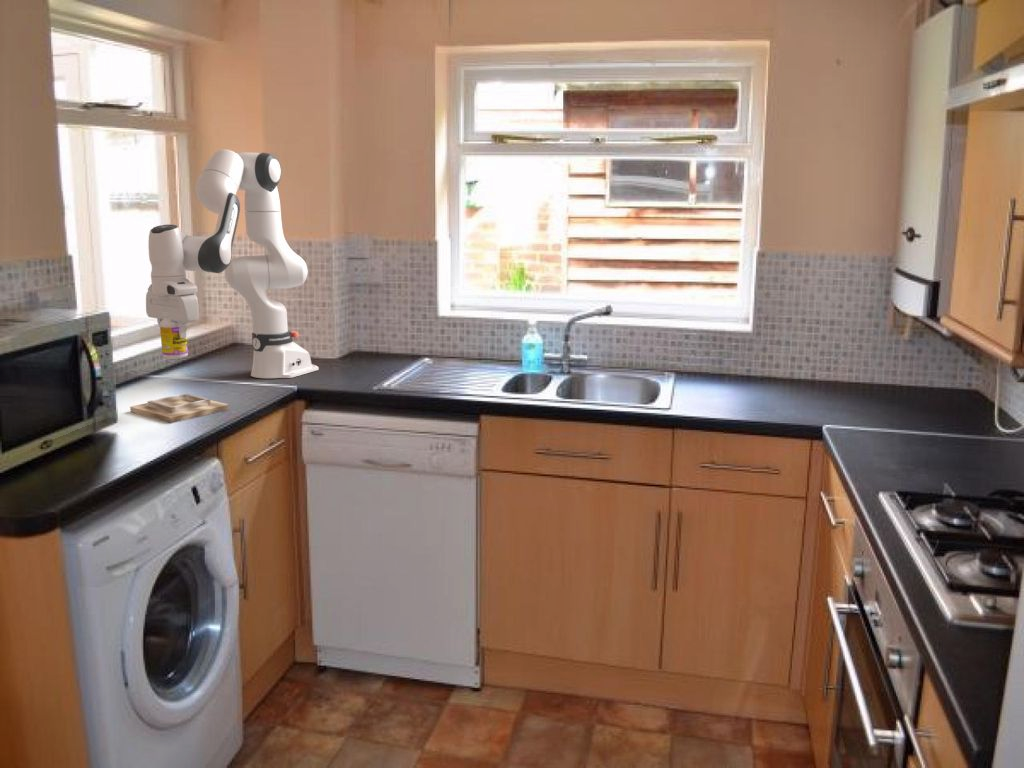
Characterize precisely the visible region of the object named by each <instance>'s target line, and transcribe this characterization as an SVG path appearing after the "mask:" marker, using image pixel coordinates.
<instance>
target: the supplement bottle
mask: <svg viewBox="0 0 1024 768" xmlns="http://www.w3.org/2000/svg"><path fill="white" fill-rule="evenodd" d="M162 313H163V317H164V320H162V321H161V322H160V327H159V332H160V342H161V343H160V344H161V353H162V357H163V358H164V359H168V360H170V359H171V360H176V359H183V358H186V357H188V355H189V353H188V352H189V350H188V337H187V336H186V338H178V334H177V331H179V328H180V326H179V325H178V322H176V321H170V320H169V312H165V311H162Z"/></svg>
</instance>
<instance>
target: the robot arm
mask: <svg viewBox="0 0 1024 768" xmlns="http://www.w3.org/2000/svg"><path fill="white" fill-rule="evenodd" d="M281 178H282V166H281V163H280V161H279V160H278V158H277V157H276V156H275V155H273V153H272V154H271V153H267V152H260V153H259V152H251V151H250V152H249V151H247V152H243V151H242V152H237V153H236V151H233V150H231V149H228V148H227V149H226V148H224V149H218V150H217V151H215V152H214V153H213V154H212V155H211V157H210V158H209V159H208V160H207V162H206V164H205V165H204V166H203V169H202V171H201V173H200V175H199V177H198V179H197V181H196V183H195V188H194V190H195V195H196V199H197V200H198V202H200V204H201V205H202V206H203V207H204V208H205V209H206V210H208V211H210V212H211V213H214V214H216V215H218V216H217V221H216V225H215V229H214V232H213V233H211V234H209V235H202V236H201V235H200V236H199V235H188V234H186V233H184V232H182V231H181V230H180V227H179V226H178V225H175V224H161V225H156V226H154V227H152V228H151V229H150V230H149V234H148V257H149V258H148V259H149V261H150V264H151V271H150V279H151V281H150V282H151V284H149V286H148V287H147V292H146V294H145V313H146V316H147V317H149V318H152V319H156V320H157V321H156V323H157V324H158V326H159V328H160V322H161V321H162V320H164V317H163V313H162V311H165V312H169V320H170V321H176V322H178V325H179V326H180V328H179V331H177V334H178V338H186V337H187V330H188V327H189V324H191V323H197V322H198V320H199V317H200V314H199V313H200V311H199V300H198V297H197V295H196V294H197V293H198V292H199V291H198V286H197V285H196V284H194V283H193V282H192V281H190V280H189V279H188V278H187V277H186V275H187V274H186V271H187V272H188V271H190V272H206V273H212V274H213V273H215V274H220V273H223V272H224V278H225V280H226V282H227V284H228V285H229V286H230V287H231V288H232V289H233V290H234V291H236V292H238V294H240V295H241V296H242V297H243V298H244V300H245V301H246V303H247V305H248V307H249V310H250V315H251V323H252V324H251V325H252V333H251V343H252V347H253V357H252V358H253V359H252V368H251V373H250V377H253V378H257V379H292V378H295V377H299V376H302V375H307V374H308V373H312V372H316V371H319V369H320V368H319V366H317V365H315V364H313V363H312V360H311V355H310V353H309V351H308V350H306V349H305V348H304V347H301V345H299V344H297V343H296V342H294V339H293V338H295V339H297V338H298V337H299V335H300V334H299V332H298V331H290V330H289V325H288V310H287V308H286V306H285V305H284V304H283V303H282V302H280V301H278V300H275V299H272V298H271V297H268V295H267V291H269V290H284V289H292V288H296V287H300V286H303V285H304V284H305V283H306V280H307V278H308V275H309V271H308V265H307V263H306V262H305V260H304V259H303V258H302V257H301V256H299V255H298V254H297V253H296V252H294V250H292V248H291V247H290V246H289V244H288V241H287V240H286V238H285V235H284V229H283V222H282V211H281V209H282V208H281V207H282V206H281V201H280V195H279V191H278V190H279V189H278V184H279V183H280V181H281ZM238 190H240V191H244V217H245V230H246V231H245V233H246V235H247V238H248V239H249V240H250V241H252V242H253V243H256V244H258V245H259V246H262V247H263V248H265V249H266V250H267V254H265V255H243V256H238V257H234V258H233V246H234V245H233V244H234V240H235V236H236V232H237V231H236V230H237V227H238V221H239V217H240V211H241V203H240V199H239V197H238V196H237V194H238V193H237V192H238Z"/></svg>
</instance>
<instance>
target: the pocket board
mask: <svg viewBox="0 0 1024 768" xmlns="http://www.w3.org/2000/svg"><path fill="white" fill-rule="evenodd" d="M129 408H130V410H129V411H130V412H131V413H133V412H134V413H133V414H137V413H138V415H140V414H141V415H140V416H144V417H149V418H151V419H154V418H155V420H158V419H159V420H158V421H162V422H165V421H166V423H169V422H170V423H169V424H174V423H178V421H179V422H182V421H181V420H183V421H186V419H187V420H191V419H195V418H194V417H196V418H200V417H203V416H208V414H209V415H213V414H216V412H217V413H220V412H219V411H221V412H224V411H223V410H226V411H229V410H230V404H228V403H225V402H219V401H215V400H212V399H210V398H206V397H202V396H198V395H194V394H190V393H188V392H187V393H186V392H185V393H181V394H176V395H171V396H166V397H161V398H158V399H153V400H148V401H147V402H145V403H141V404H136V405H132V406H129ZM228 409H229V410H228ZM212 413H213V414H212ZM199 416H200V417H199ZM190 418H191V419H190Z"/></svg>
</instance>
